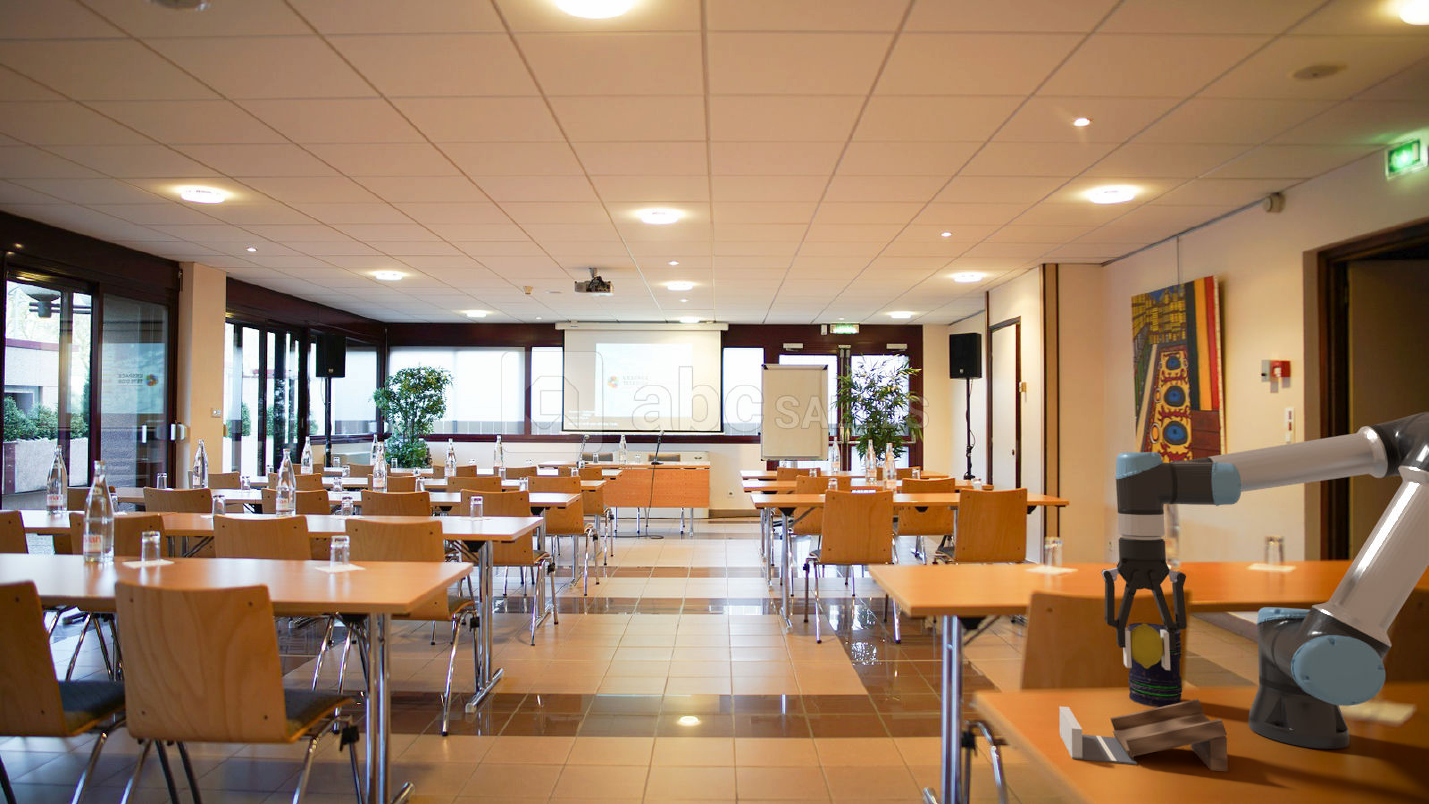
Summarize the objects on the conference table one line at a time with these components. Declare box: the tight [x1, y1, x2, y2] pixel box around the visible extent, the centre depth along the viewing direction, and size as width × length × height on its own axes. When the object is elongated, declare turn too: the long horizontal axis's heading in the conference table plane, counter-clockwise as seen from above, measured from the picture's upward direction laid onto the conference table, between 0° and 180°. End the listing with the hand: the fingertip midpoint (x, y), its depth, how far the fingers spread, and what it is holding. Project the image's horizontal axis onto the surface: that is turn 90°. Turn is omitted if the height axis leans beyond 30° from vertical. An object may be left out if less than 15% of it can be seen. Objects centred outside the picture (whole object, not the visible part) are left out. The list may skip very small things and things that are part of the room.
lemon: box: [1130, 624, 1163, 669], centre depth 146 cm, size 6×6×8 cm
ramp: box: [1109, 698, 1228, 772], centre depth 139 cm, size 15×12×8 cm
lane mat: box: [1060, 734, 1138, 766], centre depth 142 cm, size 10×12×1 cm
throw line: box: [1095, 735, 1117, 764], centre depth 141 cm, size 1×12×1 cm, turn 166°
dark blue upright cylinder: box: [1127, 622, 1183, 708], centre depth 170 cm, size 10×10×15 cm
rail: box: [1059, 705, 1083, 761], centre depth 143 cm, size 2×12×5 cm, turn 167°
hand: (1146, 666), depth 146 cm, fingers closed on lemon, 5 cm apart
